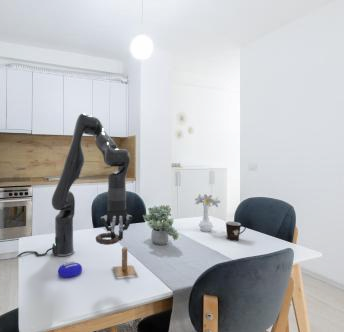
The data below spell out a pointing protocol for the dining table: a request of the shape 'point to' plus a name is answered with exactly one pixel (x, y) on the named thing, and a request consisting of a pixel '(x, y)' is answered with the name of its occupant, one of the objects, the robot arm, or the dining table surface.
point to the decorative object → (69, 269)
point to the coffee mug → (233, 230)
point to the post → (124, 266)
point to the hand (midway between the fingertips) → (116, 240)
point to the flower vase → (206, 211)
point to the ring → (107, 241)
